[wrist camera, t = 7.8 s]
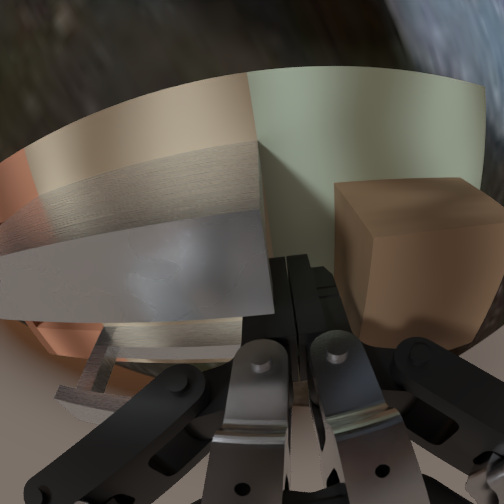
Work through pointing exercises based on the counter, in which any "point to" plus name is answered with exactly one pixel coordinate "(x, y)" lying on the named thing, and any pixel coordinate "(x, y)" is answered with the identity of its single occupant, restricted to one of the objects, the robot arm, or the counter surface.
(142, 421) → the robot arm
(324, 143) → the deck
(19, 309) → the tunnel
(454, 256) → the walnut block
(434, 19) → the counter surface
